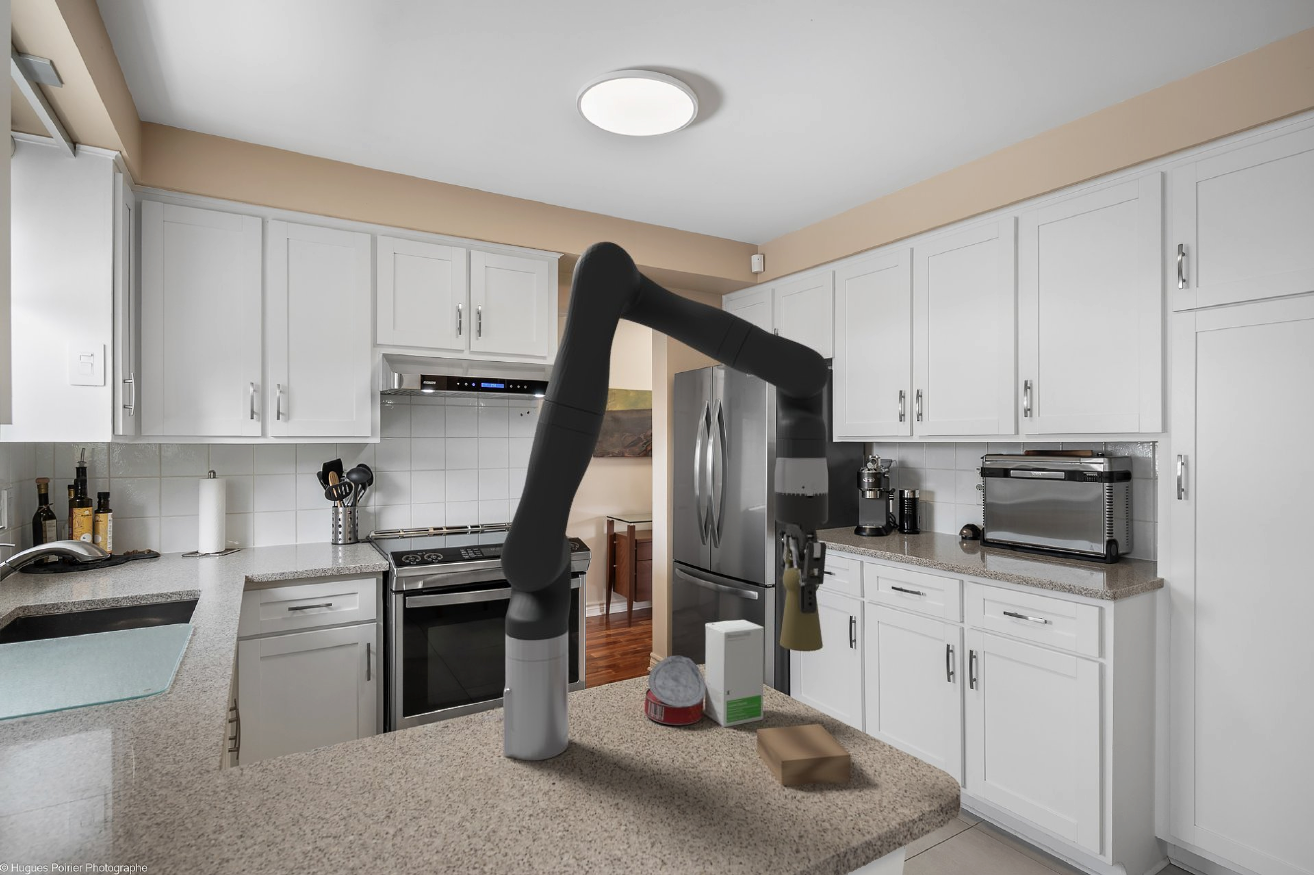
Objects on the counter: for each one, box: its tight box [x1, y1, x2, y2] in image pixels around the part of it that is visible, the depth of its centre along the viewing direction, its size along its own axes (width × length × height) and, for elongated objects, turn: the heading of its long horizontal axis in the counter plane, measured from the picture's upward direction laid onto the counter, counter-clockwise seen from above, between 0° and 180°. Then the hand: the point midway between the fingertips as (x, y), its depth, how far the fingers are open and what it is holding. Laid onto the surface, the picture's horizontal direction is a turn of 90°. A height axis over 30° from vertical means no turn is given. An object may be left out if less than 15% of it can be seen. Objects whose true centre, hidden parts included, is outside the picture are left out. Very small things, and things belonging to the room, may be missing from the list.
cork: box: [779, 568, 824, 652], centre depth 96 cm, size 6×6×11 cm
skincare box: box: [704, 619, 765, 728], centre depth 113 cm, size 8×7×16 cm
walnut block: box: [756, 723, 852, 786], centre depth 96 cm, size 10×10×4 cm
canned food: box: [644, 654, 706, 726], centre depth 113 cm, size 11×10×10 cm
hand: (800, 606), depth 96 cm, fingers closed on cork, 5 cm apart
